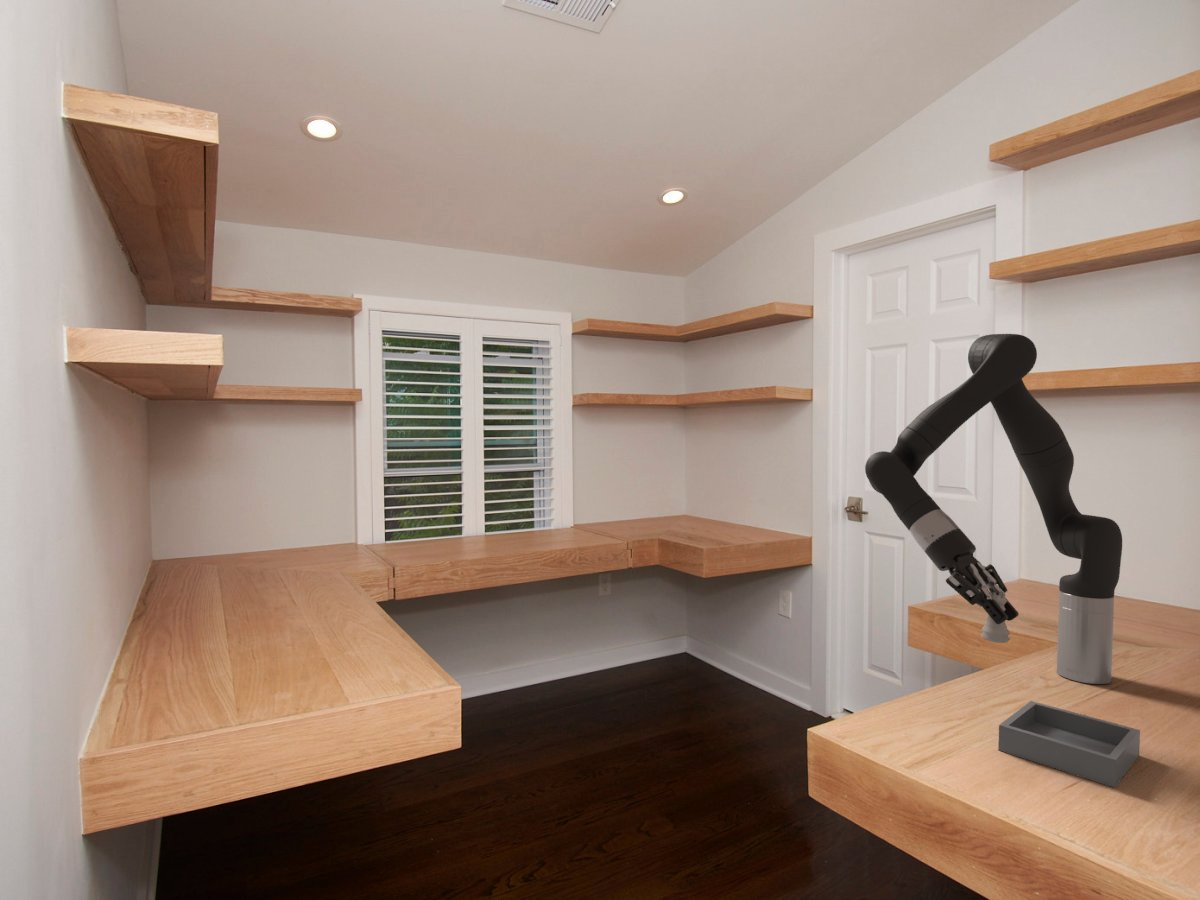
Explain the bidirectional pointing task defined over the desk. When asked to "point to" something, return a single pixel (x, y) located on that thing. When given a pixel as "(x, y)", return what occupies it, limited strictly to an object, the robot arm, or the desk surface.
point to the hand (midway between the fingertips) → (1008, 619)
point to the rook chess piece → (994, 630)
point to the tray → (1070, 742)
